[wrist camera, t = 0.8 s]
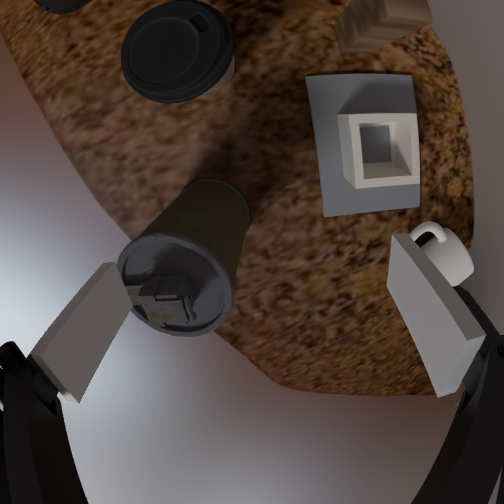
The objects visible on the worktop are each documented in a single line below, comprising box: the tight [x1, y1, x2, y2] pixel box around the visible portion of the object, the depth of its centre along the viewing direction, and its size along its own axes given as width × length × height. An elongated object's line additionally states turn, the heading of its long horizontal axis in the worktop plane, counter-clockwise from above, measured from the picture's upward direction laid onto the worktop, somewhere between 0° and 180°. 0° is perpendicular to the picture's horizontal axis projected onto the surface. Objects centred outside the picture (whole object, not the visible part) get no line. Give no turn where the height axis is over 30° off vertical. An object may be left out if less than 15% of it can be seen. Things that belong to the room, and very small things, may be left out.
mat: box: [305, 74, 420, 217], centre depth 31 cm, size 18×14×1 cm
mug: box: [409, 221, 474, 287], centre depth 34 cm, size 12×10×8 cm
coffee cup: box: [121, 0, 235, 103], centre depth 22 cm, size 9×9×15 cm
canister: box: [116, 179, 250, 337], centre depth 29 cm, size 11×10×20 cm
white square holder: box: [337, 112, 420, 189], centre depth 29 cm, size 8×8×6 cm
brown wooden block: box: [334, 0, 433, 53], centre depth 18 cm, size 4×4×16 cm
